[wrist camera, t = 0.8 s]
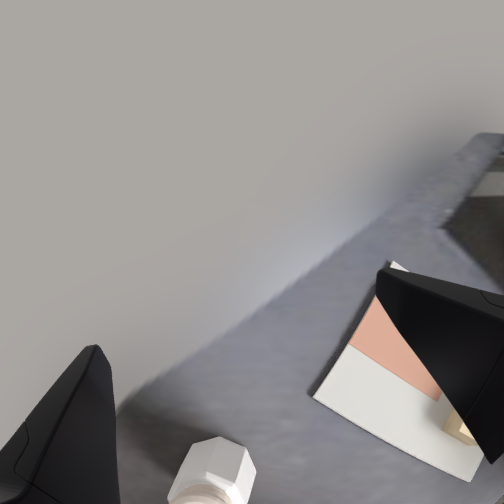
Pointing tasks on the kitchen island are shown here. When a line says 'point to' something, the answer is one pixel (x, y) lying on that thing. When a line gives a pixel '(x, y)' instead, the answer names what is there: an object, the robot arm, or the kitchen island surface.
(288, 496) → the kitchen island surface
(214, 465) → the pepper shaker
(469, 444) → the wooden block
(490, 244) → the kitchen island surface
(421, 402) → the mat
